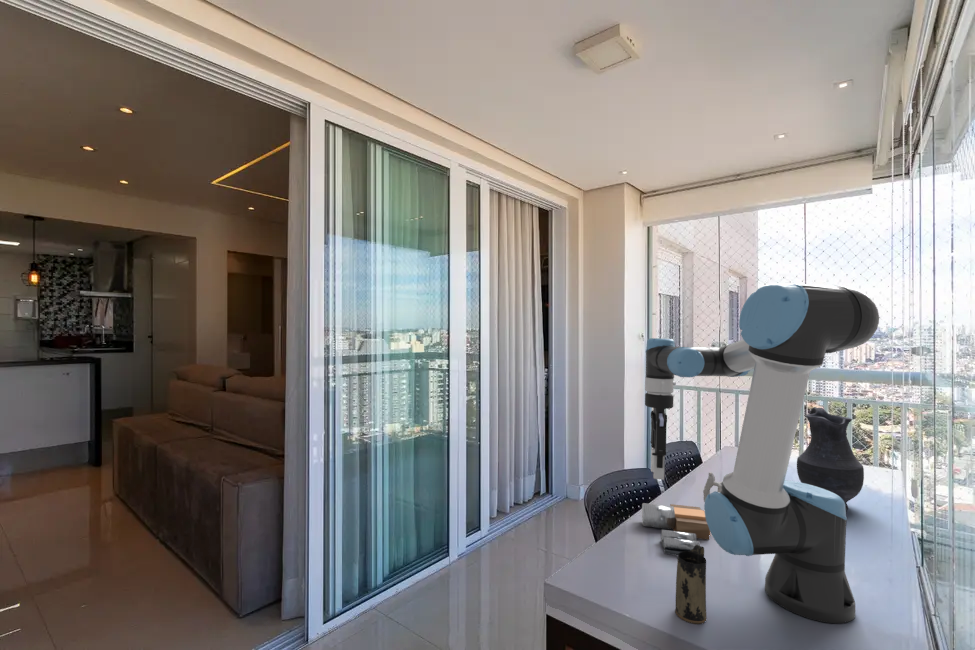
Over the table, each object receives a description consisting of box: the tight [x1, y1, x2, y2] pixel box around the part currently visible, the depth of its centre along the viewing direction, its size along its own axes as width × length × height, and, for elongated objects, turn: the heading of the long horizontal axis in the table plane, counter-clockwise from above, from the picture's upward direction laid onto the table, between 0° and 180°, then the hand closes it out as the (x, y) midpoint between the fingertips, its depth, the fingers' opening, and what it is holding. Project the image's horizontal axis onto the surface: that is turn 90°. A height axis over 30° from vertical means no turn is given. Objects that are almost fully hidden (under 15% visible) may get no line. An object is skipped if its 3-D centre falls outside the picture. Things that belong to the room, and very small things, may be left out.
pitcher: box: [796, 406, 865, 511], centre depth 149 cm, size 17×21×30 cm
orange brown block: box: [673, 507, 711, 536], centre depth 126 cm, size 5×9×5 cm, turn 76°
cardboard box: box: [669, 503, 710, 540], centre depth 127 cm, size 12×8×4 cm, turn 166°
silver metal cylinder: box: [641, 502, 675, 531], centre depth 128 cm, size 8×6×6 cm
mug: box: [702, 471, 723, 503], centre depth 136 cm, size 8×12×12 cm, turn 36°
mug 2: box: [675, 545, 708, 625], centre depth 89 cm, size 8×6×12 cm
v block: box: [660, 529, 701, 556], centre depth 115 cm, size 8×7×3 cm
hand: (657, 474), depth 129 cm, fingers open, 6 cm apart
